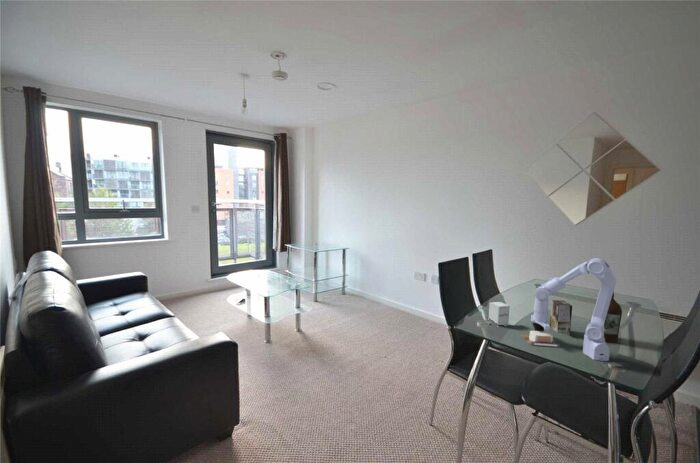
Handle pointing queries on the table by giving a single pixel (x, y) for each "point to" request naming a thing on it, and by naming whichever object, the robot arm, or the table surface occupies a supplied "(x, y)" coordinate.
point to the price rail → (545, 344)
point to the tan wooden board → (529, 340)
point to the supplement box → (499, 313)
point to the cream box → (540, 336)
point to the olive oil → (612, 321)
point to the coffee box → (561, 316)
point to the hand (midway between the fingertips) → (538, 338)
